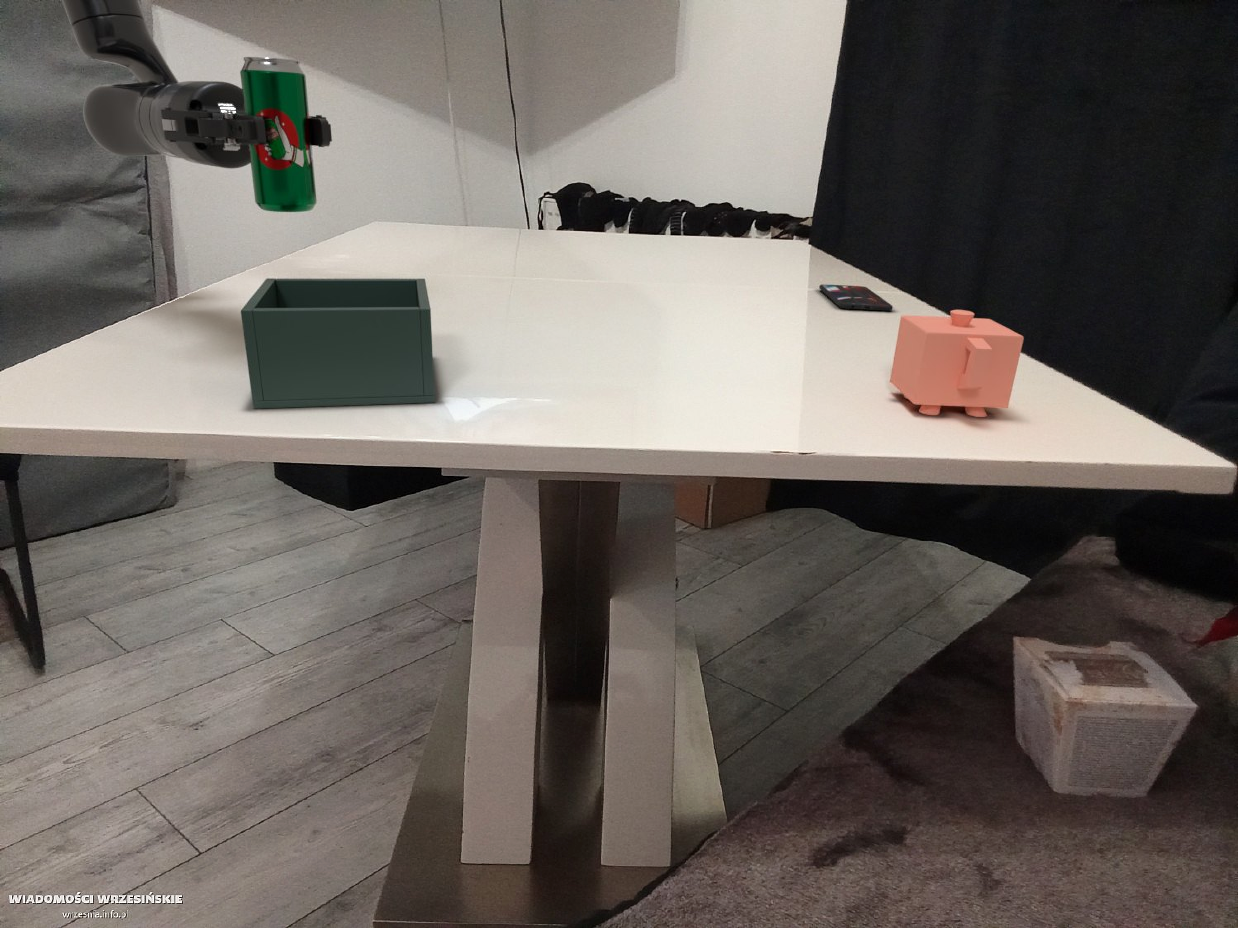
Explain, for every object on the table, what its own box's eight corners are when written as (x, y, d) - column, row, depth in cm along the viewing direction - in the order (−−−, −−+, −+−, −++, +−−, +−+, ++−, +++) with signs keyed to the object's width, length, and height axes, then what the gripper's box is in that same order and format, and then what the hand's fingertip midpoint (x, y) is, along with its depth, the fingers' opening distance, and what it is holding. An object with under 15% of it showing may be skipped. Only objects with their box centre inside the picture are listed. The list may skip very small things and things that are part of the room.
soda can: (287, 205, 76) (273, 61, 72) (329, 210, 74) (317, 62, 70) (243, 209, 72) (224, 56, 67) (286, 214, 70) (270, 57, 65)
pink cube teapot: (960, 385, 78) (977, 298, 75) (1016, 428, 67) (1039, 327, 64) (877, 382, 78) (892, 294, 75) (920, 424, 67) (939, 323, 64)
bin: (253, 409, 63) (240, 310, 61) (276, 362, 76) (266, 278, 73) (434, 402, 67) (430, 308, 64) (428, 359, 79) (424, 278, 76)
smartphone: (841, 304, 110) (818, 284, 124) (840, 309, 110) (817, 288, 124) (895, 306, 110) (866, 286, 124) (894, 311, 110) (865, 290, 124)
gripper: (118, 75, 73) (200, 76, 63) (274, 86, 83) (367, 88, 73) (133, 165, 76) (213, 180, 65) (282, 165, 86) (373, 178, 75)
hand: (294, 132), depth 69 cm, fingers closed on soda can, 5 cm apart
